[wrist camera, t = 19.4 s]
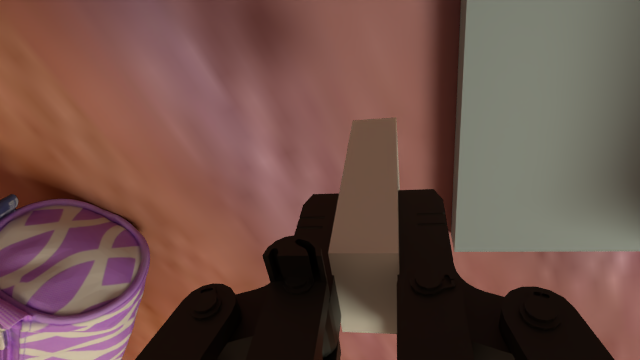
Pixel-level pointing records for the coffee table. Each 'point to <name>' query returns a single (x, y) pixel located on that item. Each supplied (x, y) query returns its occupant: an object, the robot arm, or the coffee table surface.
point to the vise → (547, 126)
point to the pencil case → (68, 280)
